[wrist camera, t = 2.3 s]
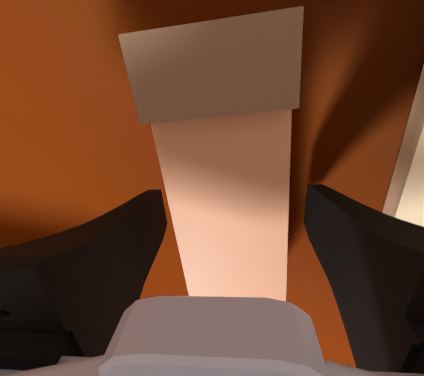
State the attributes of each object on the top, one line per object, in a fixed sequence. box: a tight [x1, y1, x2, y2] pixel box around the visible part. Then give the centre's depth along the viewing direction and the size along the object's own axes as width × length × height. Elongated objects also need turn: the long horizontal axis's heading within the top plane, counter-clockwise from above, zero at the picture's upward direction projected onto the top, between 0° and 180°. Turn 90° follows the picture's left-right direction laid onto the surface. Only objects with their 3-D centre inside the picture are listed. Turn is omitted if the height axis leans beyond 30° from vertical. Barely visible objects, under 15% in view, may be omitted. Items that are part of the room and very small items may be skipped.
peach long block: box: [118, 6, 304, 301], centre depth 11 cm, size 14×4×6 cm, turn 7°
